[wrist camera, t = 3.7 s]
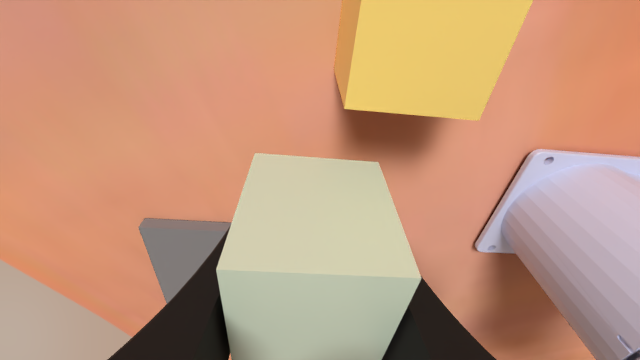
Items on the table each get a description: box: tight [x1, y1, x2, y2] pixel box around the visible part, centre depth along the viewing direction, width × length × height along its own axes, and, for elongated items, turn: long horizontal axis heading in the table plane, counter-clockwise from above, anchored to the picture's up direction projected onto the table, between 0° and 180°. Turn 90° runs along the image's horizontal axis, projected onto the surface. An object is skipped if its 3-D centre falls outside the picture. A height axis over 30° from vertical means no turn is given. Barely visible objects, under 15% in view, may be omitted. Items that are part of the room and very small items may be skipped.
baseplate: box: [139, 218, 231, 303], centre depth 21 cm, size 10×10×1 cm
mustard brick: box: [334, 0, 533, 121], centre depth 9 cm, size 4×6×5 cm
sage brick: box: [216, 153, 421, 360], centre depth 10 cm, size 4×6×5 cm
